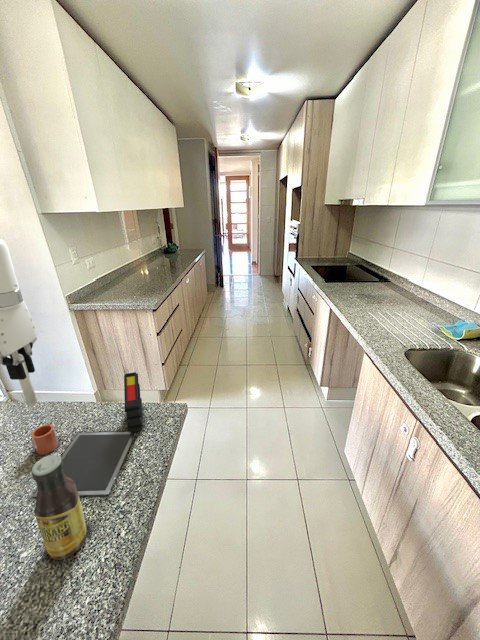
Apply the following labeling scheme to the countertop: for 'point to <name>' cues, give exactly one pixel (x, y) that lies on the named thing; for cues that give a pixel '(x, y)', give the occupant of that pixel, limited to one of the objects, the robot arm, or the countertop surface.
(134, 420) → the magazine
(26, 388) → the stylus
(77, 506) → the sauce bottle
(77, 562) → the countertop surface
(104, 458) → the tablet
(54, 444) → the holder
